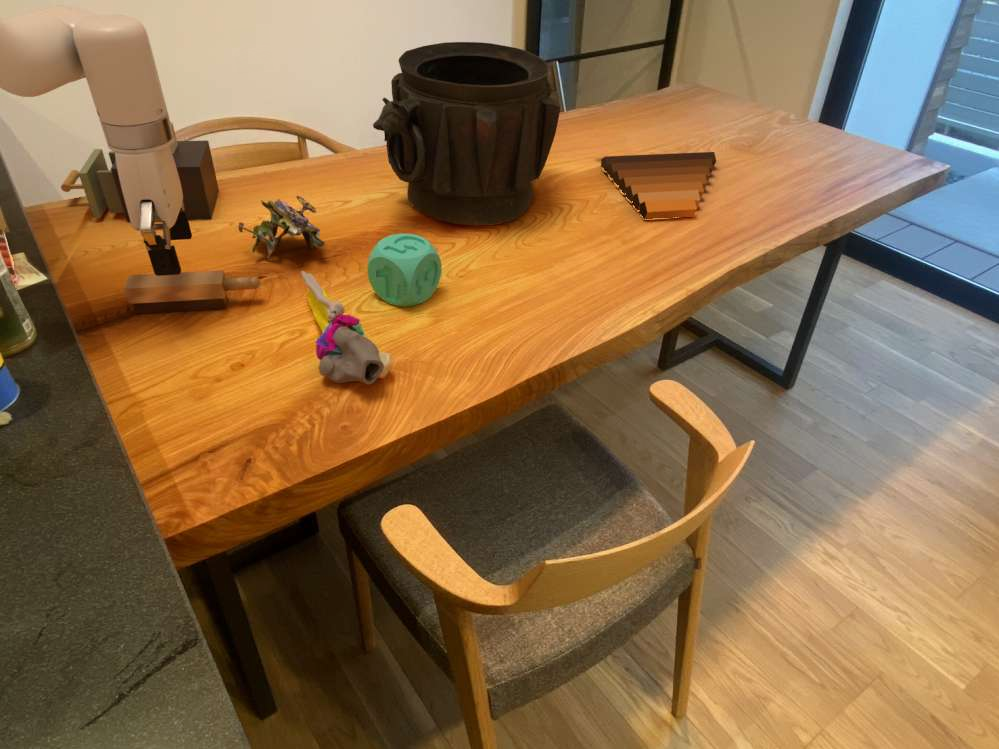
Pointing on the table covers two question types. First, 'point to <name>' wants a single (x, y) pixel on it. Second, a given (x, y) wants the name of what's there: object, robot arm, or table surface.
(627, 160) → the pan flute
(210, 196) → the dark wooden cuboid
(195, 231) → the table surface
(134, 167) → the robot arm
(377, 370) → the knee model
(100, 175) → the drawer
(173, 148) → the felt block
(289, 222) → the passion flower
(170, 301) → the brush
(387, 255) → the decorative dice
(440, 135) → the vessel
